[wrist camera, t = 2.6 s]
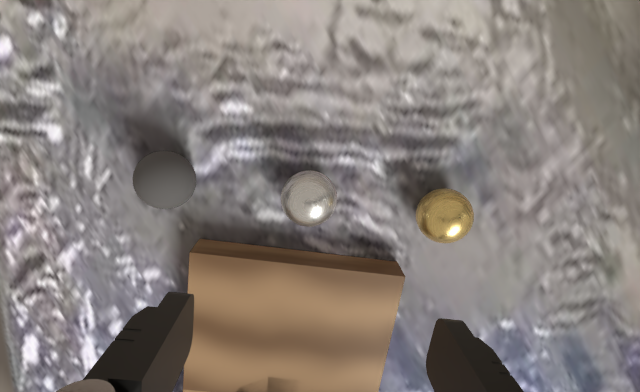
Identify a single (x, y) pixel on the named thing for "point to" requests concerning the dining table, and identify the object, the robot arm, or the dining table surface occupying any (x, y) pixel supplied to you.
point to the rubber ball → (164, 179)
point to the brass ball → (444, 215)
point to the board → (288, 319)
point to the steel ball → (309, 198)
